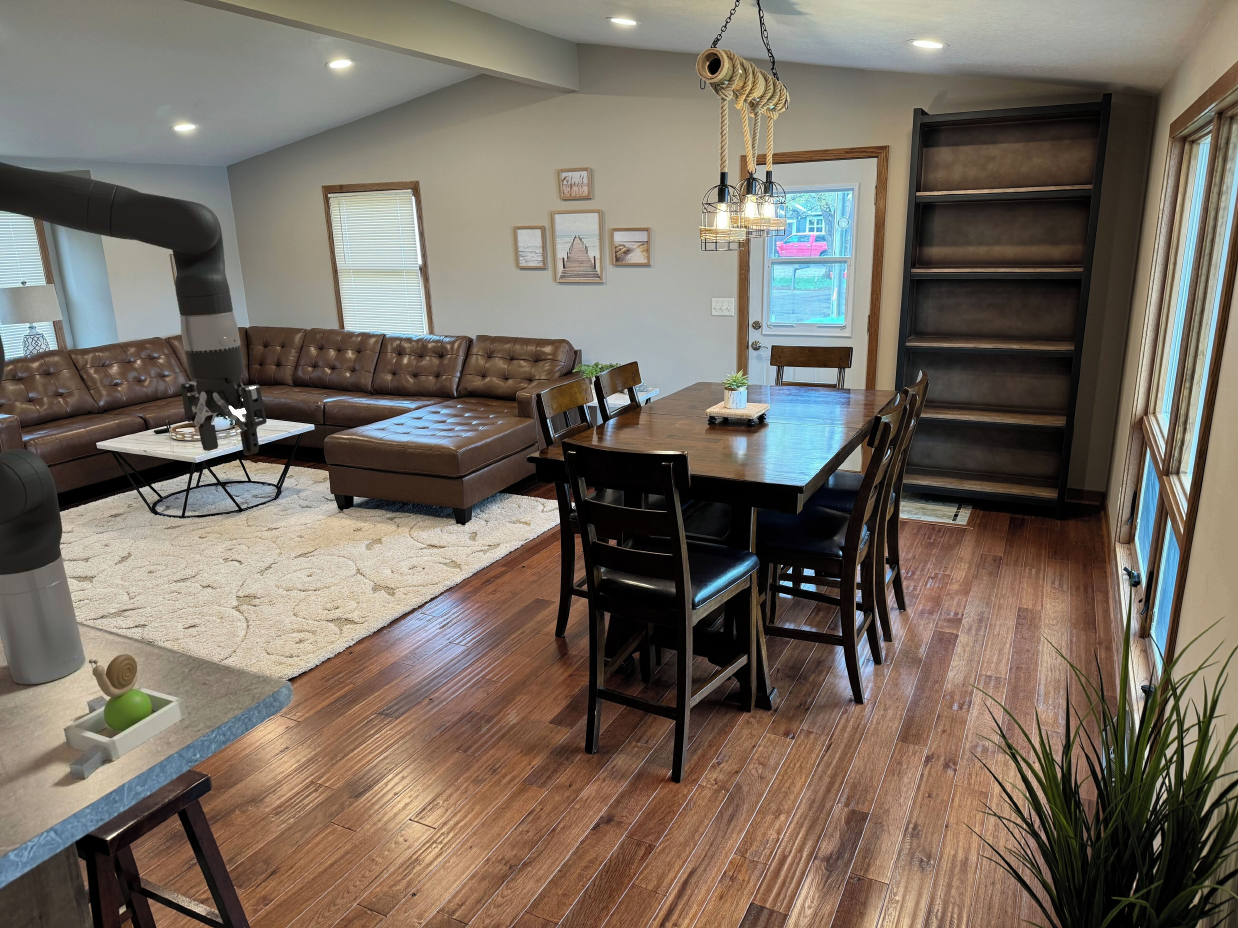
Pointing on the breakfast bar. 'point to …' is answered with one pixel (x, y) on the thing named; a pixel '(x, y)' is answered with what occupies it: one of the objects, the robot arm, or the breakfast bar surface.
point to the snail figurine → (122, 693)
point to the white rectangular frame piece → (112, 749)
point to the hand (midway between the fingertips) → (230, 451)
